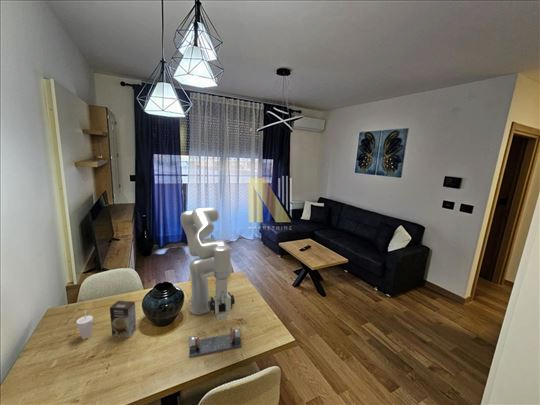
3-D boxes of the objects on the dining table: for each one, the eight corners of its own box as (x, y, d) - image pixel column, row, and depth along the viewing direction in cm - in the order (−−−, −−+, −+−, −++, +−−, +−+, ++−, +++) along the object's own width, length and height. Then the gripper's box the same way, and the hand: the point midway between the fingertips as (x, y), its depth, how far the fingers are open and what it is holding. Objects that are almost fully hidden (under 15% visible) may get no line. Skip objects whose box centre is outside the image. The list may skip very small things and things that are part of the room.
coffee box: (111, 337, 118) (108, 307, 115) (119, 328, 125) (117, 300, 122) (129, 338, 118) (127, 308, 115) (137, 329, 124) (135, 301, 121)
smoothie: (97, 334, 119) (94, 309, 117) (83, 343, 114) (80, 317, 111) (89, 330, 122) (87, 305, 119) (75, 338, 116) (72, 313, 114)
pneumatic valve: (235, 316, 116) (234, 293, 113) (211, 324, 110) (210, 300, 108) (231, 310, 120) (230, 288, 118) (207, 317, 115) (207, 294, 112)
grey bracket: (189, 357, 108) (188, 343, 107) (189, 342, 117) (189, 329, 115) (241, 347, 115) (241, 333, 114) (238, 334, 124) (238, 321, 122)
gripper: (213, 264, 118) (213, 298, 122) (214, 282, 102) (214, 320, 105) (228, 263, 120) (228, 296, 123) (231, 281, 104) (231, 318, 107)
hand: (221, 307), depth 114 cm, fingers closed on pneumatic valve, 5 cm apart
